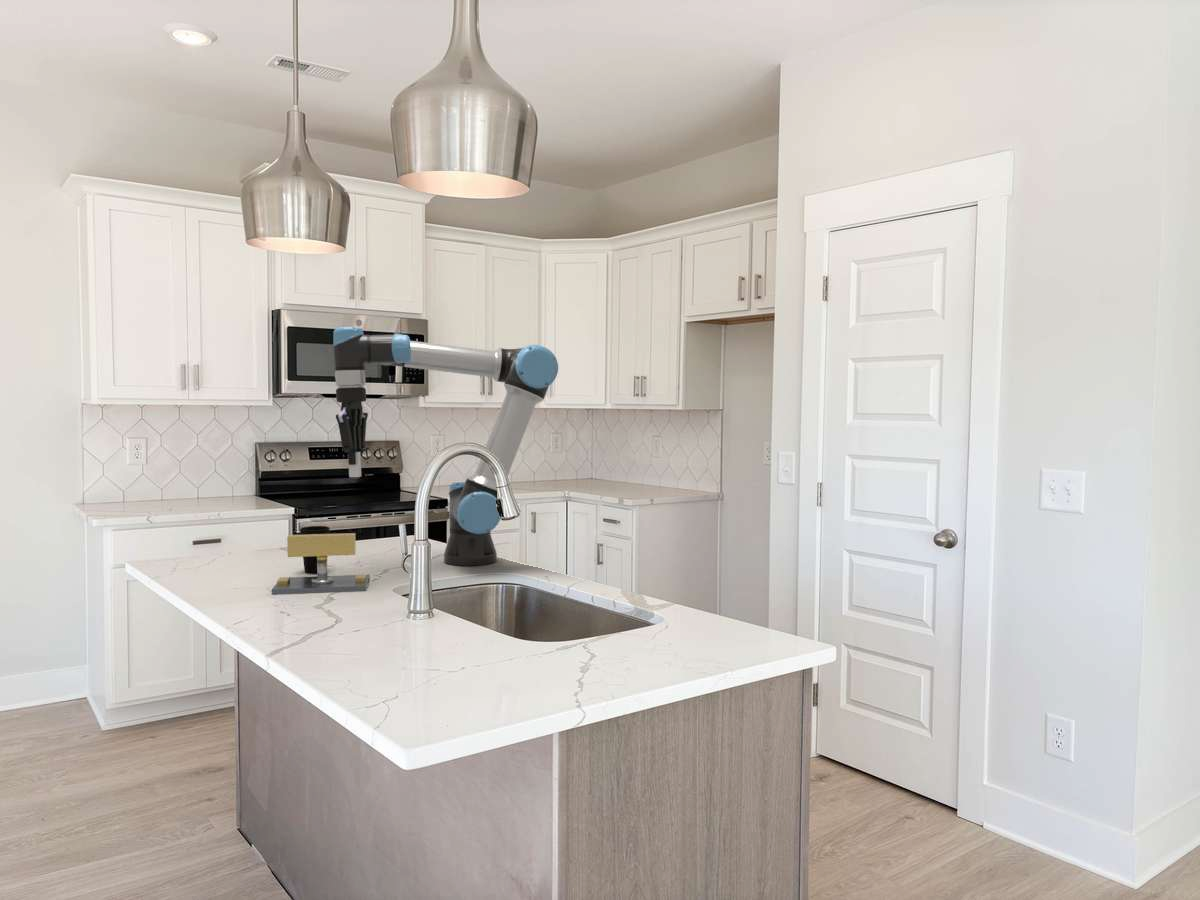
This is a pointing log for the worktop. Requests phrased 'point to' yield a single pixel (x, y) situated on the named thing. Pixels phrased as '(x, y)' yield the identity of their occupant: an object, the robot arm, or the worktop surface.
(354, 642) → the worktop surface
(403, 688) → the worktop surface
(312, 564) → the cup
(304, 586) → the plate
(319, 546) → the flat gold bar
